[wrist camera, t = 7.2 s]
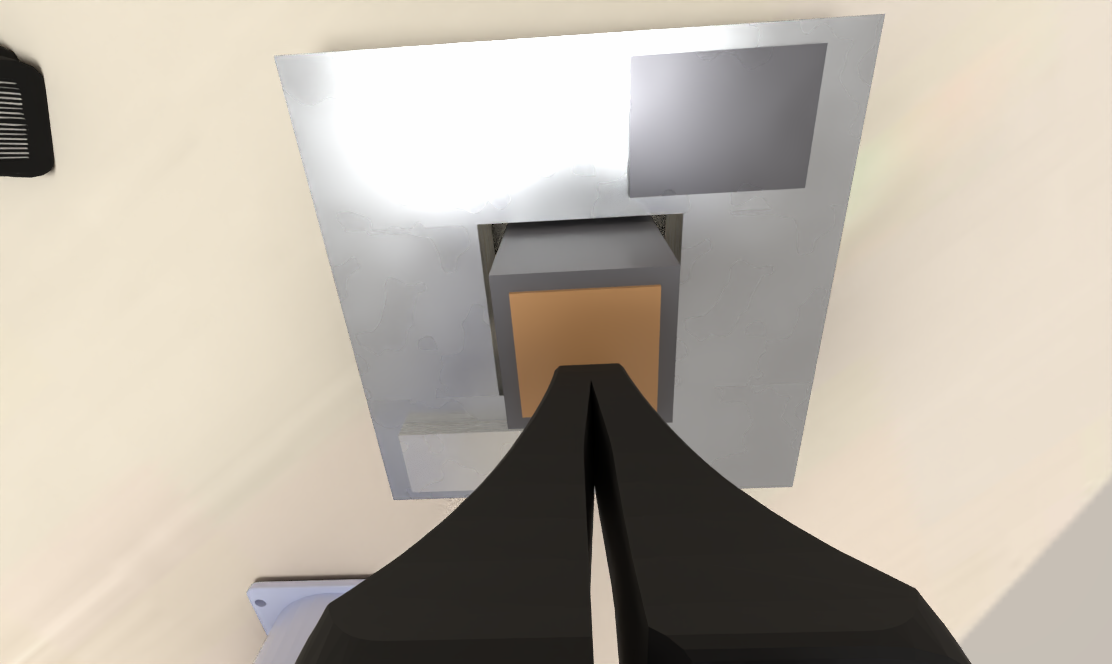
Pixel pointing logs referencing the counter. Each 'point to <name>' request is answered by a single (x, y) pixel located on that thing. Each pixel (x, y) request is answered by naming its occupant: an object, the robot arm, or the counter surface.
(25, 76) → the electric trimmer
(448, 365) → the socket plate
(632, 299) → the plug
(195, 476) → the counter surface
